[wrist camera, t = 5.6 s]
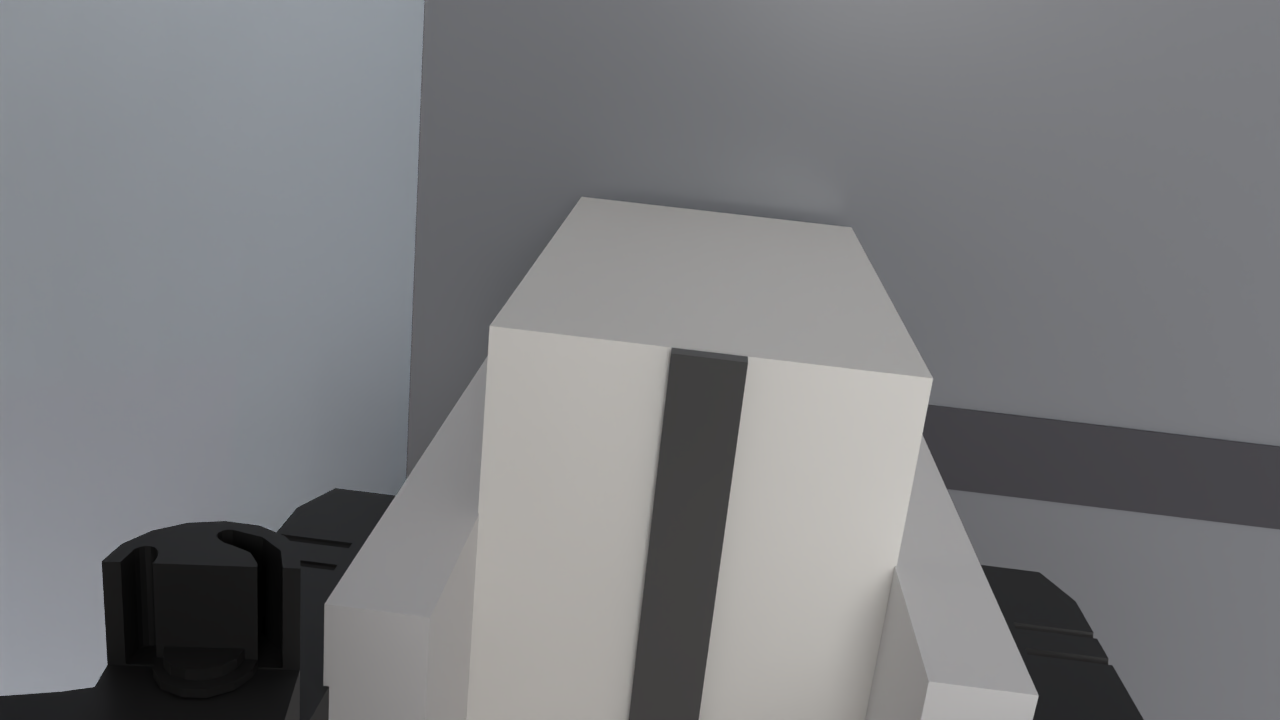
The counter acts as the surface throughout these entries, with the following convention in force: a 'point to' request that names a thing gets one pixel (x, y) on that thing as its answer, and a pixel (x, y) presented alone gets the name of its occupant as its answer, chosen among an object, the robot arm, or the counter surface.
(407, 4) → the counter surface
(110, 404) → the counter surface
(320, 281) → the counter surface
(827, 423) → the fader tab
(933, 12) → the console board
